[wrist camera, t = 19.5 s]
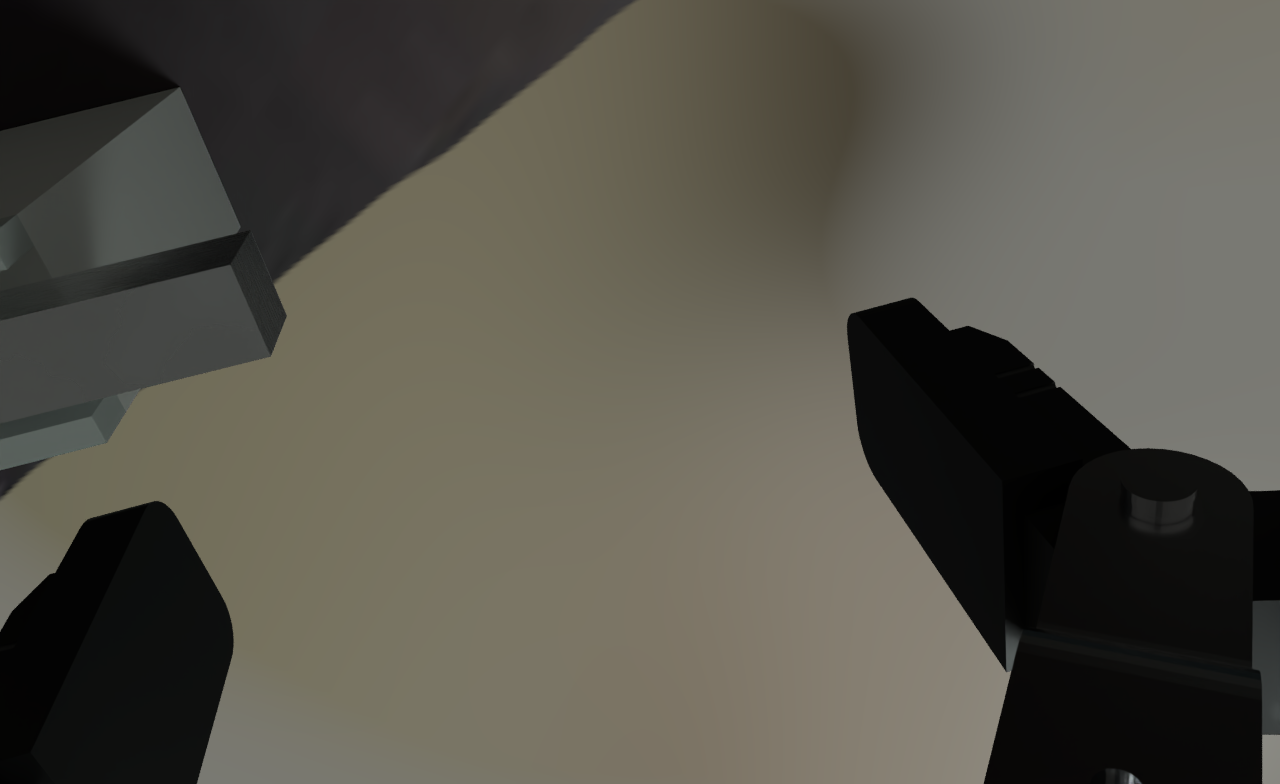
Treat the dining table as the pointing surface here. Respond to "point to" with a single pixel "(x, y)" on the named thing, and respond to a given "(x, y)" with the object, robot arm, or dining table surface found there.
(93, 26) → the dining table surface
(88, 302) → the block
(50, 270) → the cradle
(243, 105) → the dining table surface
